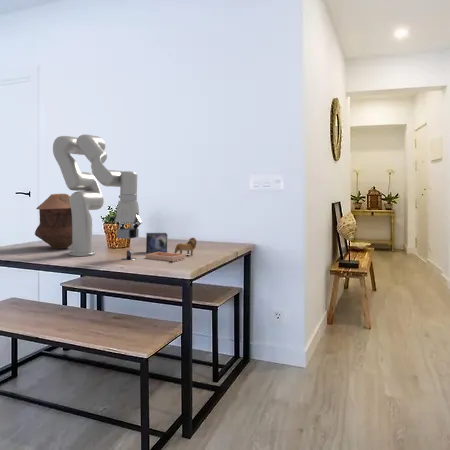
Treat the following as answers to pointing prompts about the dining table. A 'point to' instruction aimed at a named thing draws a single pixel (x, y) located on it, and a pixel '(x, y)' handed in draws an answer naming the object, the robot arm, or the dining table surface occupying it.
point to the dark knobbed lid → (128, 256)
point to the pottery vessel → (55, 221)
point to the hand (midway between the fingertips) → (127, 236)
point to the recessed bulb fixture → (125, 233)
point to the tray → (165, 256)
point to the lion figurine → (186, 246)
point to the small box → (156, 242)
